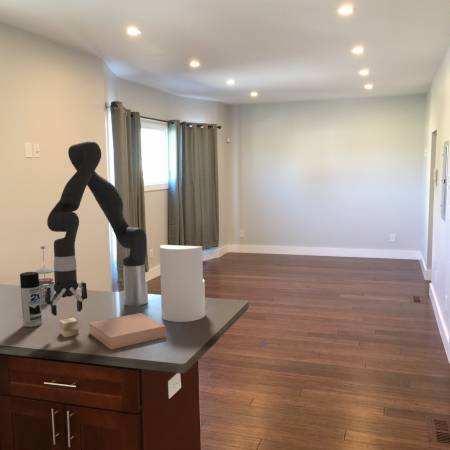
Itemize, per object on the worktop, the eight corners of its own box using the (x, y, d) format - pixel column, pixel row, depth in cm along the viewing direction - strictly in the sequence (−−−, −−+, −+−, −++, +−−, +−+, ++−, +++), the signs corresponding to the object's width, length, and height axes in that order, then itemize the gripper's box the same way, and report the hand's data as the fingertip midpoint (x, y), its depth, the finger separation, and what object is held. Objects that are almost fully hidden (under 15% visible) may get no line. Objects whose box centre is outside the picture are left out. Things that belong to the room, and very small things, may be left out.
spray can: (30, 328, 187) (27, 275, 185) (19, 326, 190) (15, 273, 188) (45, 323, 192) (42, 272, 190) (34, 321, 196) (31, 270, 194)
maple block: (74, 331, 184) (73, 317, 183) (78, 334, 180) (77, 320, 179) (60, 333, 181) (59, 320, 180) (64, 337, 177) (63, 323, 176)
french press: (53, 304, 221) (50, 247, 218) (26, 304, 221) (23, 248, 218) (60, 298, 231) (57, 244, 228) (35, 298, 231) (32, 244, 228)
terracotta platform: (141, 322, 192) (140, 312, 191) (165, 337, 175) (165, 325, 175) (89, 333, 180) (89, 322, 180) (110, 349, 164) (110, 337, 163)
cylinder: (194, 323, 190) (193, 250, 187) (153, 319, 196) (151, 248, 193) (211, 311, 206) (210, 243, 203) (173, 307, 212) (171, 241, 209)
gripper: (81, 264, 185) (83, 307, 186) (41, 268, 177) (43, 314, 178) (88, 267, 178) (90, 312, 180) (47, 272, 171) (49, 319, 172)
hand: (67, 313), depth 179 cm, fingers open, 8 cm apart
